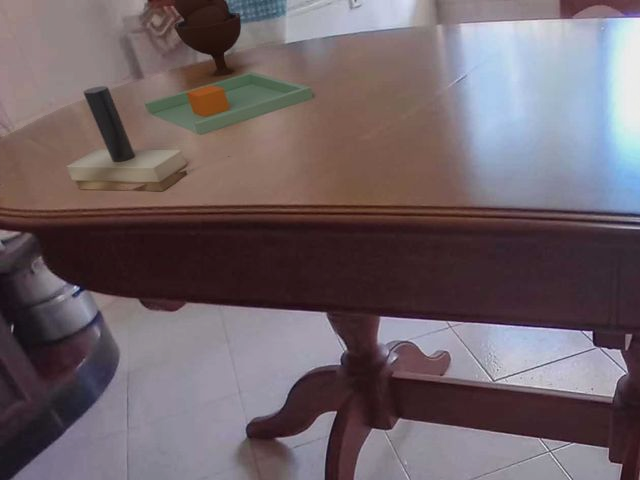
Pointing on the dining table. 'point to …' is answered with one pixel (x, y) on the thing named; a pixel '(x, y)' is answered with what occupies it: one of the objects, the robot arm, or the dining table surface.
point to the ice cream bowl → (208, 29)
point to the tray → (232, 102)
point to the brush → (122, 155)
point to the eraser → (208, 100)
